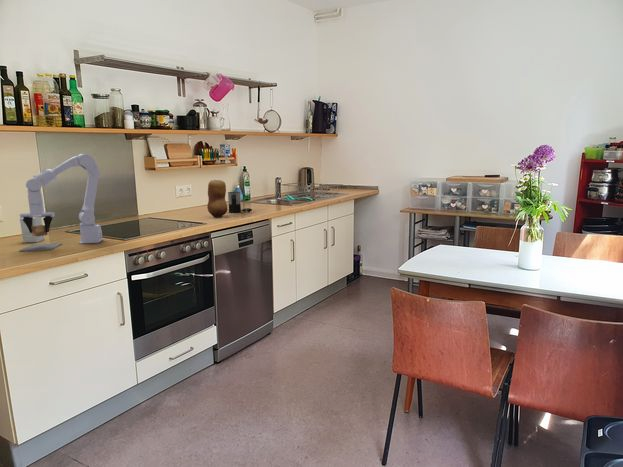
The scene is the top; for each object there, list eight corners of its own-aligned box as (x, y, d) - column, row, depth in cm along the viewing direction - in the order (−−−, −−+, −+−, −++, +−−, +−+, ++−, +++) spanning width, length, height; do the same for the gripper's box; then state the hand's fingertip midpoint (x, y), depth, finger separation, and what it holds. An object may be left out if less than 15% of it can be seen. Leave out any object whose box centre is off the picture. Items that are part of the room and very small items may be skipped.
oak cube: (47, 234, 219) (46, 225, 219) (38, 236, 215) (37, 226, 215) (41, 234, 221) (40, 224, 221) (32, 235, 217) (31, 226, 217)
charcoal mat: (62, 244, 227) (62, 243, 227) (51, 250, 214) (51, 248, 214) (32, 245, 225) (32, 244, 225) (19, 251, 212) (19, 250, 212)
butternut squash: (229, 217, 305) (227, 180, 300) (209, 219, 300) (207, 181, 295) (225, 215, 317) (223, 179, 313) (206, 216, 312) (203, 179, 308)
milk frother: (227, 212, 333) (226, 191, 331) (247, 210, 340) (247, 190, 337) (232, 214, 321) (231, 193, 318) (253, 212, 327) (252, 192, 324)
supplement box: (45, 239, 240) (42, 215, 238) (37, 242, 233) (34, 217, 230) (30, 239, 240) (27, 216, 238) (22, 242, 233) (19, 218, 230)
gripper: (55, 202, 221) (59, 230, 223) (23, 203, 218) (26, 231, 221) (49, 204, 214) (53, 232, 216) (16, 205, 212) (20, 234, 214)
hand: (39, 232), depth 218 cm, fingers closed on oak cube, 6 cm apart
